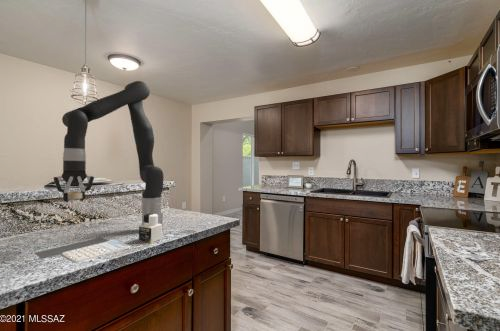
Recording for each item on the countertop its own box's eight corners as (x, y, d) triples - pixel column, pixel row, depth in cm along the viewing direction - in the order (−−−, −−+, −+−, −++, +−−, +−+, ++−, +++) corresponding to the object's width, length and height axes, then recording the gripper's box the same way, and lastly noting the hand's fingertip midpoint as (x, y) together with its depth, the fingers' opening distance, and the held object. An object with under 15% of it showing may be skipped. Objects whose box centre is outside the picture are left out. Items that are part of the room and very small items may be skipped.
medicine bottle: (138, 241, 110) (138, 214, 110) (150, 237, 117) (150, 211, 117) (150, 243, 107) (151, 216, 107) (162, 239, 114) (162, 213, 114)
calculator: (60, 257, 93) (60, 252, 93) (114, 243, 109) (114, 238, 109) (75, 266, 85) (75, 260, 85) (131, 249, 102) (131, 244, 102)
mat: (100, 238, 113) (100, 237, 113) (111, 242, 108) (111, 241, 108) (33, 254, 93) (33, 253, 93) (42, 260, 88) (42, 258, 88)
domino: (78, 190, 107) (82, 193, 100) (78, 195, 107) (82, 198, 100) (65, 191, 104) (68, 194, 97) (65, 196, 104) (68, 199, 97)
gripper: (53, 159, 94) (52, 204, 94) (96, 160, 103) (96, 201, 103) (51, 159, 99) (51, 201, 99) (93, 160, 109) (92, 198, 109)
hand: (74, 201), depth 101 cm, fingers closed on domino, 4 cm apart
